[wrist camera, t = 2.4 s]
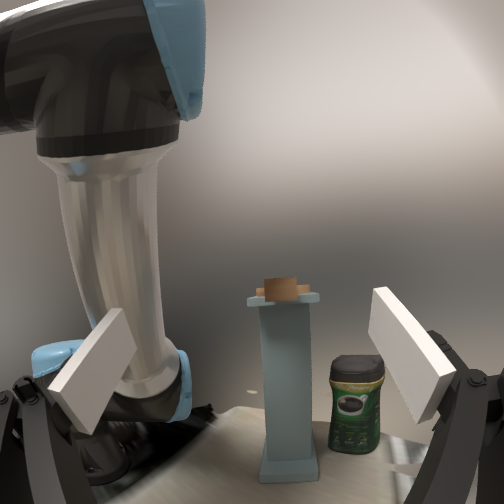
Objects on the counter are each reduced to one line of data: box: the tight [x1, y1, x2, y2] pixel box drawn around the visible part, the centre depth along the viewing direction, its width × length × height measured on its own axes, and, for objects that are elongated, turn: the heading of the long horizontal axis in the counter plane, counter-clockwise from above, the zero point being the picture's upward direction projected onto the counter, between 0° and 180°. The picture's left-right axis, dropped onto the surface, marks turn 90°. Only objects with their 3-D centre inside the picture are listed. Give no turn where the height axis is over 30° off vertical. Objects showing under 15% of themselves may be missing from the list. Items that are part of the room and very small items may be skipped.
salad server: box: [256, 277, 310, 302], centre depth 36 cm, size 8×26×2 cm, turn 173°
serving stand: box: [247, 292, 319, 483], centre depth 39 cm, size 9×16×30 cm, turn 173°
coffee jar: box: [328, 355, 385, 454], centre depth 39 cm, size 10×8×19 cm
